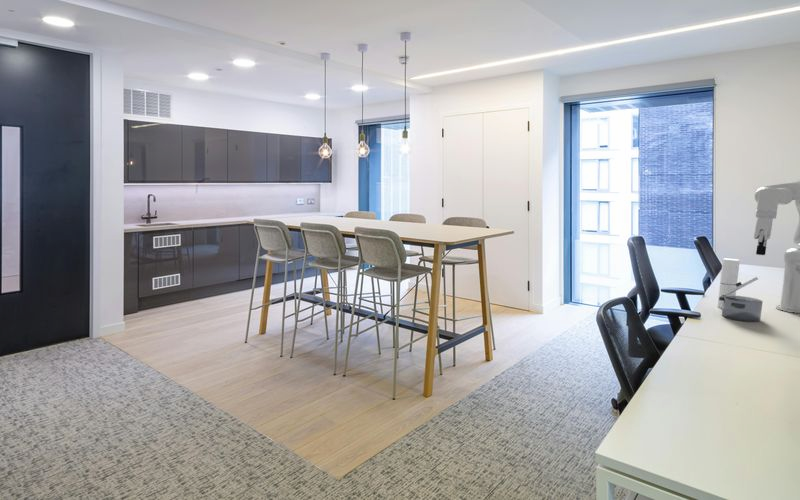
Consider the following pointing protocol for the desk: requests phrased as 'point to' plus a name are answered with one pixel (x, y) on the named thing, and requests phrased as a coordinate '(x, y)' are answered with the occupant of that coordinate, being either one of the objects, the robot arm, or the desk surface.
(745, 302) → the pot
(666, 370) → the desk surface
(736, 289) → the lid
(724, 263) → the cylindrical container
